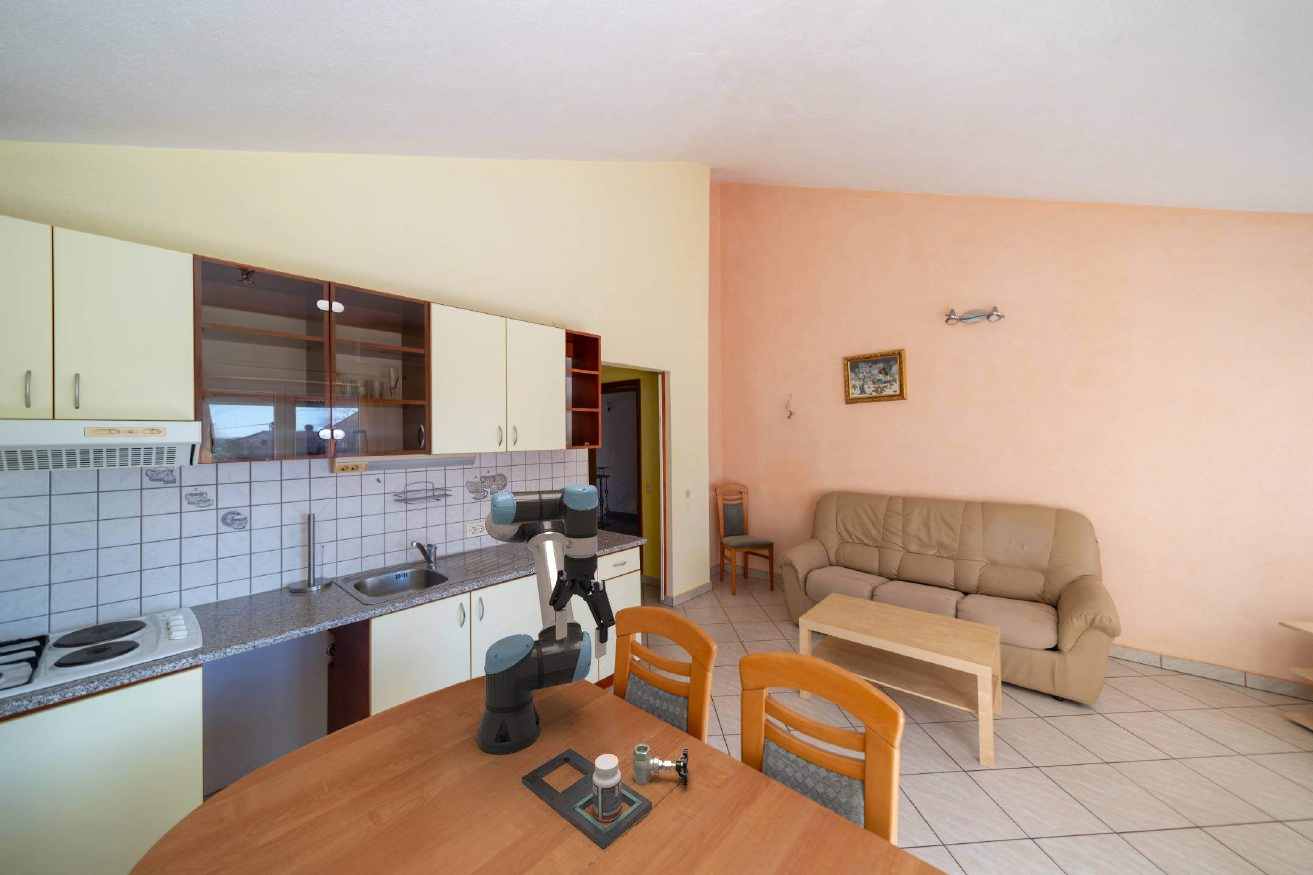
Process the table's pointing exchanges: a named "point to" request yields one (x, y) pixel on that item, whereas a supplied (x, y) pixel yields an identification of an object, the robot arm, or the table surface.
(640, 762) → the valve
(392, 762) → the table surface
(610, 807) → the pill bottle
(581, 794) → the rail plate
